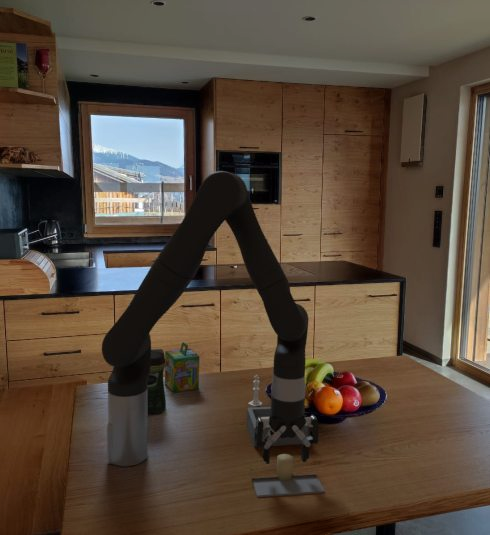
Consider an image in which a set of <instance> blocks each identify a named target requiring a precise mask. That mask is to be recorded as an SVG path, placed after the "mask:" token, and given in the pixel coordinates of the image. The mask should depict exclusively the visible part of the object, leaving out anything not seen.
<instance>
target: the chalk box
mask: <svg viewBox="0 0 490 535" xmlns="http://www.w3.org/2000/svg"><path fill="white" fill-rule="evenodd" d="M164 356H165V368H164V385H166V387H168V388H169V390H170V391H172V393H173V394H175V393H179V392H186V391H192V390H199V389H200V388H199V387H200V382H199V381H200V355H199V354H198V353H197V352H196V351H194V350H193V349H192V348H189V345H188V344H187V343H185V341H182V343H181V346H180V349H175V350H167V351H166V350H165V353H164Z"/></svg>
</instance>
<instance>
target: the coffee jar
mask: <svg viewBox="0 0 490 535" xmlns="http://www.w3.org/2000/svg"><path fill="white" fill-rule="evenodd" d="M164 371H165V353H164V349H162V348H157V349H156V348H155V349H151V368H150V375H149V379H148V386H147V395H148V399H147V400H148V416H149V415H158V414H159V415H160V414H162V413H164V412H165V411H166V408H167V405H166V404H167V402H166V401H167V400H166V392H165V383H164V382H165V379H164Z"/></svg>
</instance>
